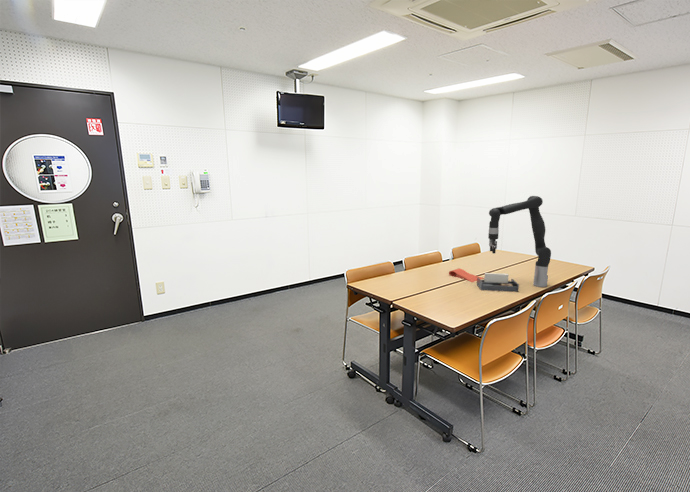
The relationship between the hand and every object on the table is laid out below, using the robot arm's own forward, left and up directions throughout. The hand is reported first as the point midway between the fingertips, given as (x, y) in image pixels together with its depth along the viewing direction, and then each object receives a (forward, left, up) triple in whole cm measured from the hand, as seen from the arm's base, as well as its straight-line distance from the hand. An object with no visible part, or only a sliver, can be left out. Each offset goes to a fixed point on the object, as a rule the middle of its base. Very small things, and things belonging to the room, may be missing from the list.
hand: (492, 252), depth 288 cm
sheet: (+15, -17, -28) cm, 36 cm away
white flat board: (-3, +7, -28) cm, 29 cm away
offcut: (-9, +14, -25) cm, 30 cm away
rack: (-3, +11, -27) cm, 30 cm away
